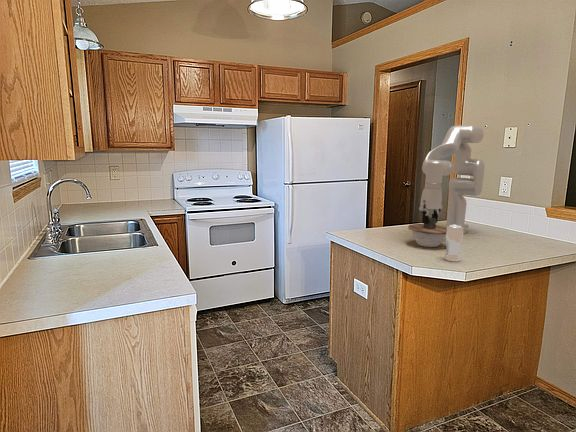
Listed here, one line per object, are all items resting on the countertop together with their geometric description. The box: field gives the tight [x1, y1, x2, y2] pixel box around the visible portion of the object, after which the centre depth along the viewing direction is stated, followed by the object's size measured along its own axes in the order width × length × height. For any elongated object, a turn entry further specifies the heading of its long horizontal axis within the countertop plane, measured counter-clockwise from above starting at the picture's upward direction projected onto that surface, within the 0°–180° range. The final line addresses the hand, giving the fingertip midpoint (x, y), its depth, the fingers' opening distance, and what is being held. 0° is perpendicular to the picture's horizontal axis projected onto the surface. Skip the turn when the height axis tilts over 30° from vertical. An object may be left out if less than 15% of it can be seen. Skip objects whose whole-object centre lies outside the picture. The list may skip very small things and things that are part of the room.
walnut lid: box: [407, 216, 447, 235], centre depth 191 cm, size 20×20×6 cm
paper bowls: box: [412, 231, 446, 248], centre depth 192 cm, size 15×15×8 cm
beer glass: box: [444, 225, 464, 263], centre depth 167 cm, size 7×7×15 cm
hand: (429, 222), depth 191 cm, fingers open, 5 cm apart
